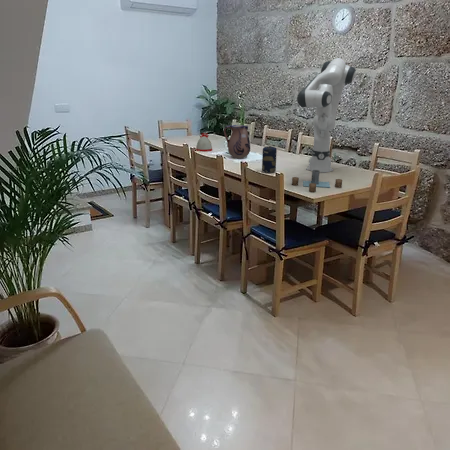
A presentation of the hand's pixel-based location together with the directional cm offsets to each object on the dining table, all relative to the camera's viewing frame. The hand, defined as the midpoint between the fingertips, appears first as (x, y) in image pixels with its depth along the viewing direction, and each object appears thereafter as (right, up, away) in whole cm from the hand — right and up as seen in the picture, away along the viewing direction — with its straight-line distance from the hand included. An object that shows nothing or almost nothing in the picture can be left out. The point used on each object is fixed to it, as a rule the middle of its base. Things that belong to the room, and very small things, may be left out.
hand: (321, 135), depth 260 cm
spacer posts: (-4, -33, -5) cm, 33 cm away
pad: (-2, -30, +4) cm, 30 cm away
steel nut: (-3, -29, +4) cm, 29 cm away
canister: (-29, -18, +34) cm, 48 cm away
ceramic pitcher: (-49, -1, +80) cm, 94 cm away
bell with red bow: (-77, +10, +109) cm, 134 cm away
